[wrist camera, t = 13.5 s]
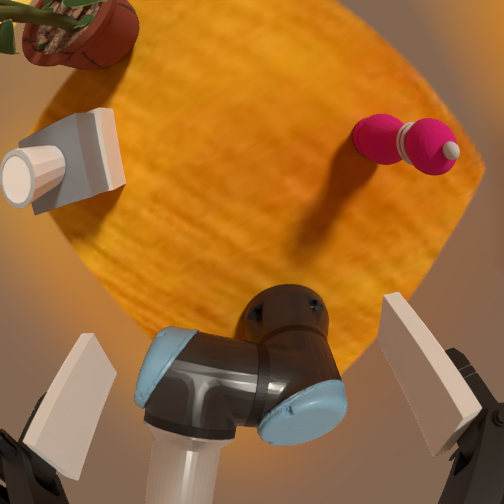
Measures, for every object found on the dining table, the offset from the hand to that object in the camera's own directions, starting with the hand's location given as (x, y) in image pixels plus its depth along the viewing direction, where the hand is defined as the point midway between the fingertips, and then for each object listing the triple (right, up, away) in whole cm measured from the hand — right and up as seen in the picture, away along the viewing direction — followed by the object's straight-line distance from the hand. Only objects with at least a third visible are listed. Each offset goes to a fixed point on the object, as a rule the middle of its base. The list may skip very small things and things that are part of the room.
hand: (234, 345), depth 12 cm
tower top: (-25, +17, +21) cm, 37 cm away
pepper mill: (+18, +21, +26) cm, 38 cm away
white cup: (-25, +15, +17) cm, 34 cm away
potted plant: (-18, +37, +18) cm, 45 cm away
